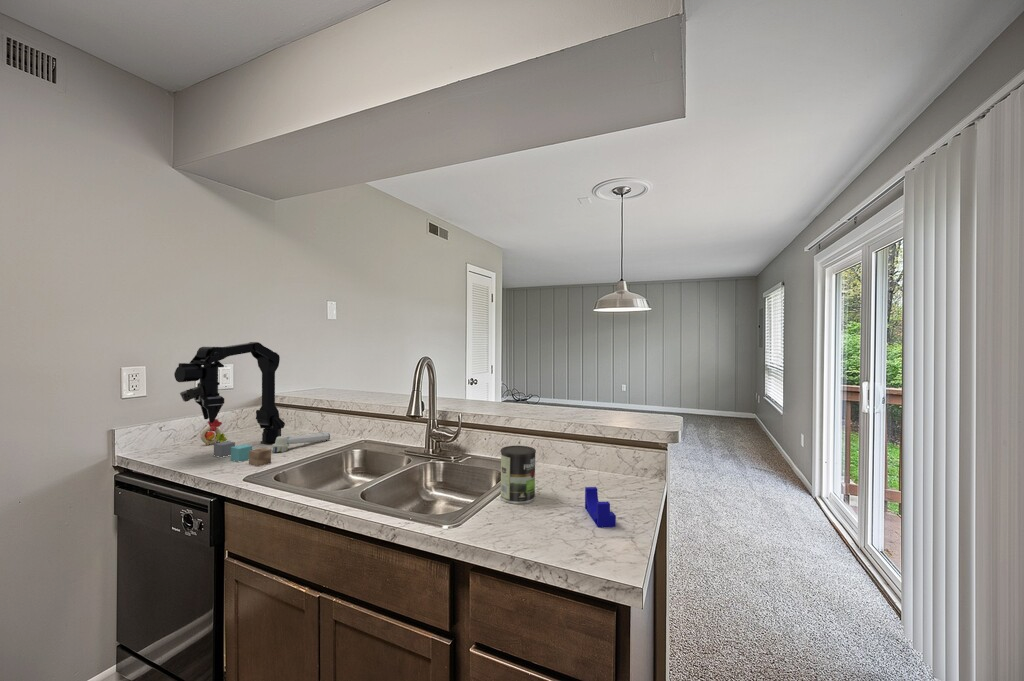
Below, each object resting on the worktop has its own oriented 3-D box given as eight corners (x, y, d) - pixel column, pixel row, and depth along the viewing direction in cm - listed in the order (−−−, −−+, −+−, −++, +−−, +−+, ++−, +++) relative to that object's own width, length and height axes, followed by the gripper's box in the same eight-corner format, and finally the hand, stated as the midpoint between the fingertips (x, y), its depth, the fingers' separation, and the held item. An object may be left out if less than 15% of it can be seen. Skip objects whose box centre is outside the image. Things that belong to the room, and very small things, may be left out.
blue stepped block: (615, 527, 104) (615, 503, 104) (598, 528, 103) (598, 504, 103) (600, 508, 116) (601, 486, 116) (584, 508, 115) (585, 487, 115)
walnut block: (262, 461, 156) (262, 447, 156) (270, 463, 153) (271, 449, 153) (248, 464, 151) (249, 450, 151) (257, 466, 149) (257, 452, 149)
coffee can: (541, 495, 124) (542, 448, 124) (523, 507, 115) (524, 456, 115) (512, 488, 130) (512, 443, 130) (493, 499, 121) (493, 450, 121)
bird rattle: (211, 451, 175) (233, 438, 183) (200, 429, 171) (222, 417, 179) (204, 449, 178) (225, 437, 186) (192, 427, 174) (214, 415, 182)
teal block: (244, 457, 160) (244, 444, 160) (252, 459, 158) (252, 445, 158) (230, 460, 156) (230, 447, 156) (238, 462, 154) (238, 448, 154)
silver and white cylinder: (331, 432, 188) (279, 435, 166) (329, 447, 187) (276, 452, 165) (324, 431, 190) (270, 434, 168) (322, 446, 189) (268, 450, 168)
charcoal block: (227, 453, 165) (227, 440, 165) (234, 455, 163) (235, 442, 163) (213, 456, 161) (213, 443, 161) (221, 458, 159) (221, 445, 159)
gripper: (177, 379, 158) (177, 420, 159) (186, 383, 146) (186, 428, 146) (213, 377, 167) (212, 416, 167) (224, 381, 154) (224, 423, 154)
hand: (208, 421), depth 158 cm, fingers open, 9 cm apart
